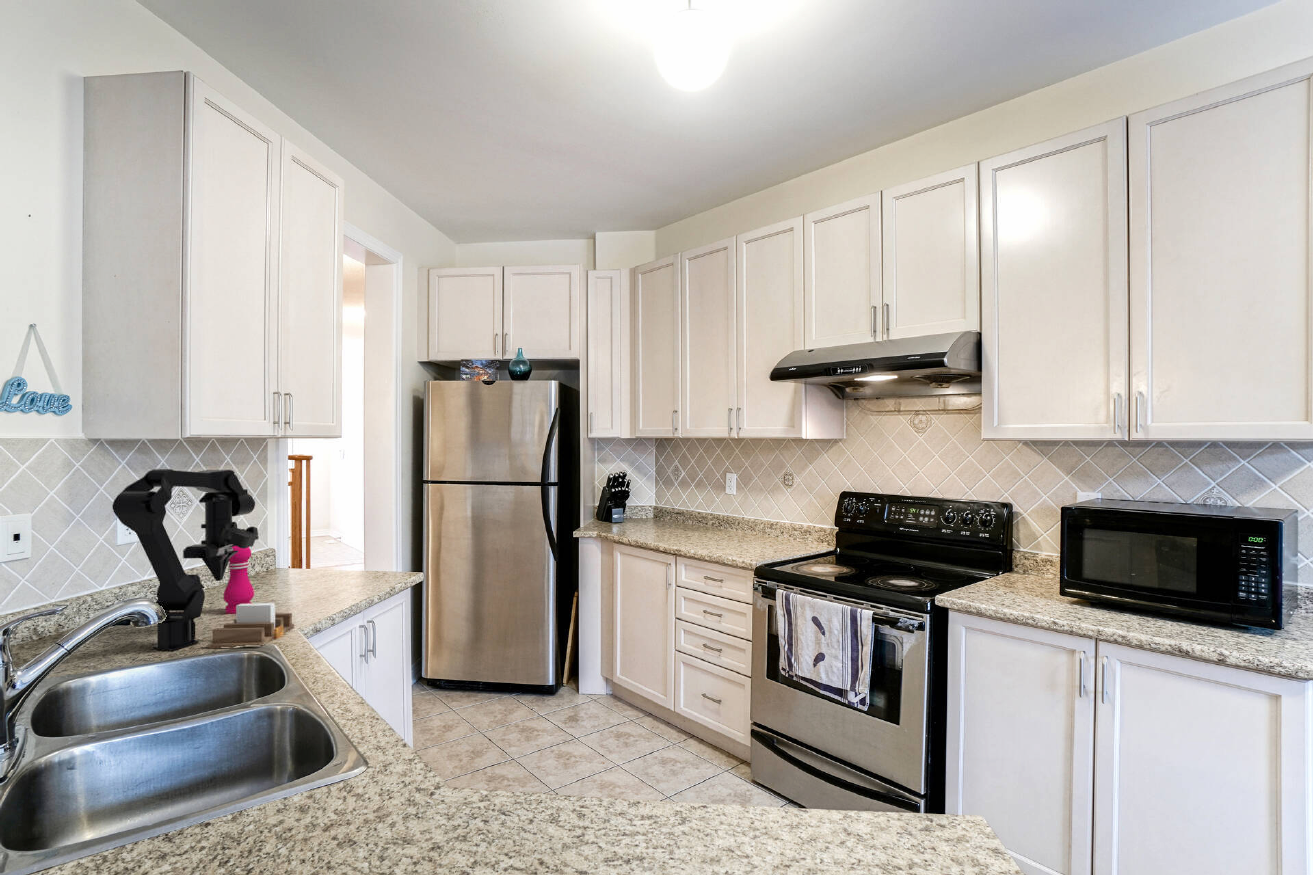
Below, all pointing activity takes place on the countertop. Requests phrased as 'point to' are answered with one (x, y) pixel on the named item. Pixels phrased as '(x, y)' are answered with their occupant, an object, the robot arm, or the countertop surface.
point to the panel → (255, 613)
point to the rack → (251, 632)
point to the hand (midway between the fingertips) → (219, 580)
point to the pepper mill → (238, 580)
